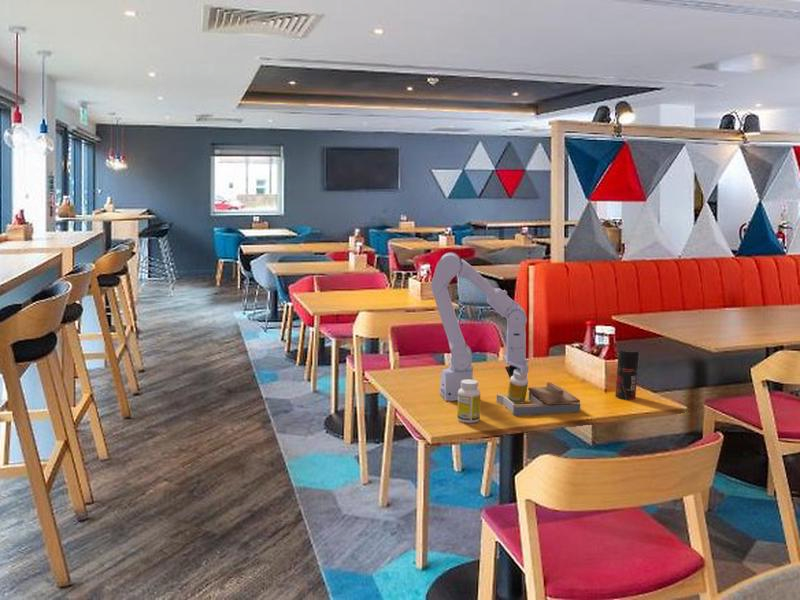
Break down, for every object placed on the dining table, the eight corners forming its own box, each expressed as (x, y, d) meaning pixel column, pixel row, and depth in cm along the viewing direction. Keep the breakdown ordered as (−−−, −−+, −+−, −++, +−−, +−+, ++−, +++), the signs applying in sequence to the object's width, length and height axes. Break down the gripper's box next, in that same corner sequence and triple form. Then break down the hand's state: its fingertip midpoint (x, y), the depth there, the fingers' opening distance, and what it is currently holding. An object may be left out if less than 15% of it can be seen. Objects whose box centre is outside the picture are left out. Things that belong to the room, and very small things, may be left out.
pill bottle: (476, 416, 202) (478, 378, 200) (481, 423, 196) (483, 384, 194) (455, 416, 201) (456, 378, 200) (459, 423, 195) (460, 384, 194)
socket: (511, 416, 203) (512, 407, 202) (494, 400, 216) (495, 392, 216) (579, 412, 207) (580, 404, 207) (559, 397, 221) (559, 389, 220)
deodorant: (621, 393, 227) (624, 346, 225) (638, 397, 223) (642, 350, 220) (611, 396, 223) (615, 349, 220) (629, 401, 219) (632, 353, 216)
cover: (547, 404, 204) (547, 393, 204) (528, 390, 218) (528, 379, 218) (579, 402, 207) (580, 392, 206) (558, 388, 220) (559, 378, 220)
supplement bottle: (523, 406, 214) (527, 378, 210) (505, 401, 215) (509, 373, 211) (526, 396, 218) (531, 369, 214) (509, 392, 220) (513, 365, 216)
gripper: (538, 350, 210) (537, 395, 212) (519, 339, 224) (519, 381, 226) (515, 352, 208) (515, 397, 211) (497, 341, 222) (497, 383, 225)
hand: (515, 389), depth 218 cm, fingers closed, pressing on supplement bottle
